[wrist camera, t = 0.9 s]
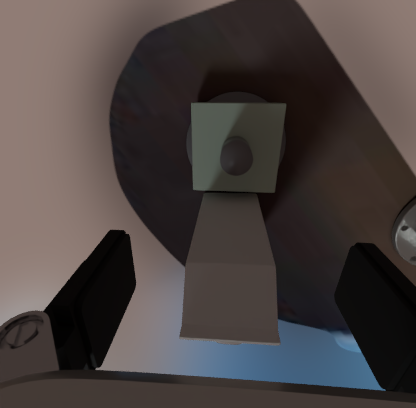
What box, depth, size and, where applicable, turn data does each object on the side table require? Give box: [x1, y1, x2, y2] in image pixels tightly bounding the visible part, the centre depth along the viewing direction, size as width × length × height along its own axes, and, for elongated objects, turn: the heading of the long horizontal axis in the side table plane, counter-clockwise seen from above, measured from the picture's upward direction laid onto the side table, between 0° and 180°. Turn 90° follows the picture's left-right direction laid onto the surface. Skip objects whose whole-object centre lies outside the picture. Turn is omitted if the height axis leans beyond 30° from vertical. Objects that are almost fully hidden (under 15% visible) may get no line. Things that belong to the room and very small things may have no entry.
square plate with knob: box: [191, 102, 286, 193], centre depth 26 cm, size 10×10×7 cm
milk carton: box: [180, 193, 280, 345], centre depth 26 cm, size 7×7×19 cm
